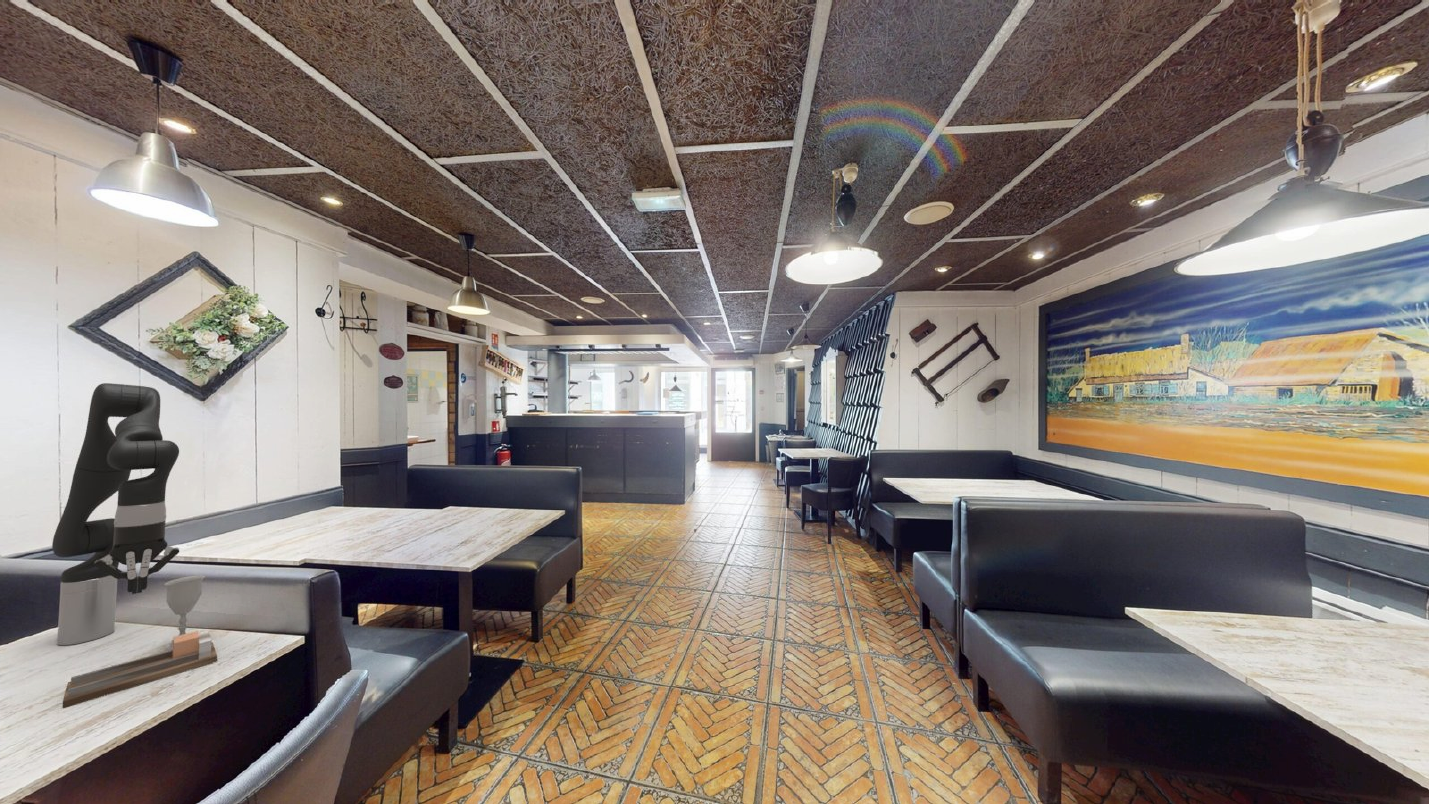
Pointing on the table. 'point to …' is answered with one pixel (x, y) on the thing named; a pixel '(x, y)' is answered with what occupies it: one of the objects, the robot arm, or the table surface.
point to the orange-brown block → (185, 644)
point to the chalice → (183, 598)
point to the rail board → (136, 672)
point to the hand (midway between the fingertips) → (136, 592)
